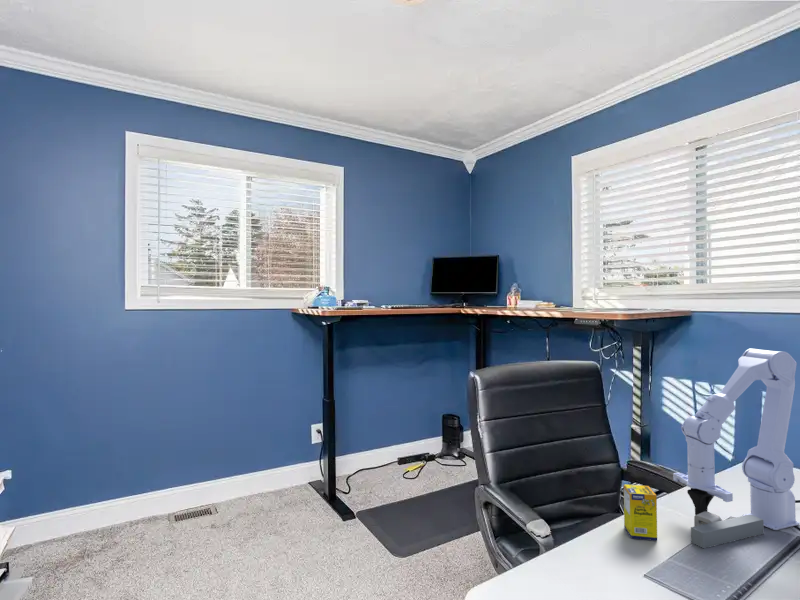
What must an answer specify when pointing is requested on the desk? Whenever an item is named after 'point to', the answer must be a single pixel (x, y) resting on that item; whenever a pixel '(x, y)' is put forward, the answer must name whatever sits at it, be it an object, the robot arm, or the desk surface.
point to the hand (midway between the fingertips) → (701, 518)
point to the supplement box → (640, 512)
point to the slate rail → (726, 530)
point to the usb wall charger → (705, 518)
